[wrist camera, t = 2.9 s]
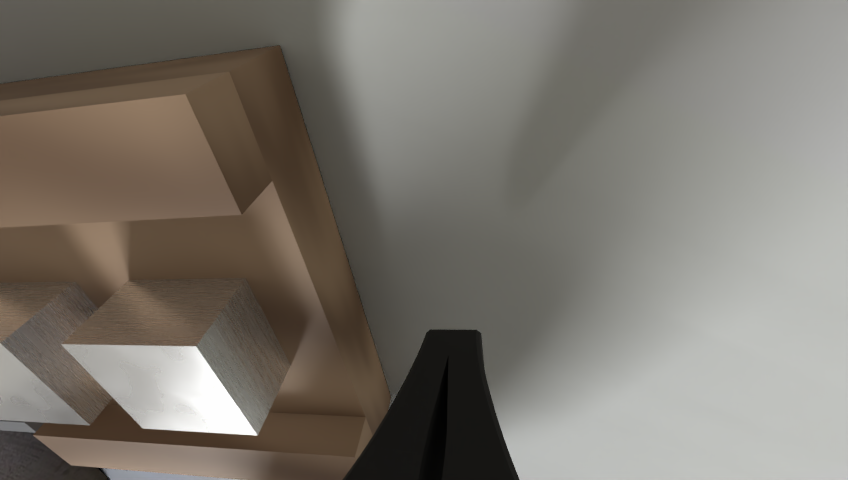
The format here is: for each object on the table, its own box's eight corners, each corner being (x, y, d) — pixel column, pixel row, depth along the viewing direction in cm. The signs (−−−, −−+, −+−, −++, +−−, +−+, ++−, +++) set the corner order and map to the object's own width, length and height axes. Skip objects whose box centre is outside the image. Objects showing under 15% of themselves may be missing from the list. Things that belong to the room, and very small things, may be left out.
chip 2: (290, 365, 14) (257, 435, 12) (189, 362, 15) (143, 428, 13) (245, 277, 12) (195, 346, 10) (128, 280, 13) (61, 344, 11)
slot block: (390, 397, 19) (370, 490, 16) (133, 387, 22) (71, 465, 18) (279, 45, 10) (185, 93, 7) (-125, 101, 13) (-325, 154, 10)
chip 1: (142, 361, 15) (90, 425, 13) (55, 359, 16) (-7, 419, 14) (75, 281, 13) (0, 343, 11) (-23, 283, 14) (-110, 341, 12)
